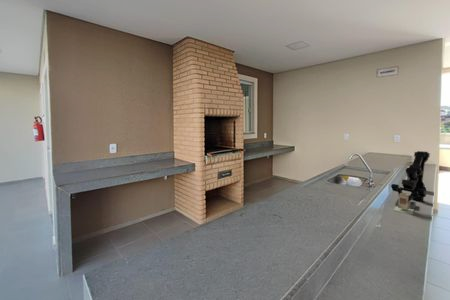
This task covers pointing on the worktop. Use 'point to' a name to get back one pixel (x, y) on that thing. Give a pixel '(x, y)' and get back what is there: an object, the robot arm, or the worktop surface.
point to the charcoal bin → (412, 204)
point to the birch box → (404, 201)
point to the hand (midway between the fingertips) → (403, 199)
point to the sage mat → (409, 211)
